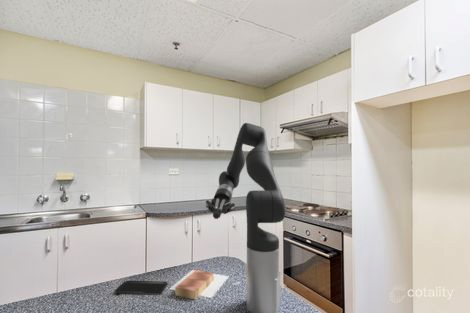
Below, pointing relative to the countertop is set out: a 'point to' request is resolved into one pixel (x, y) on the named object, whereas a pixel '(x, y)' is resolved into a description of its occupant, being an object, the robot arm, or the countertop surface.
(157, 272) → the countertop surface
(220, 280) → the white square pad
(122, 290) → the phone
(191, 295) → the brown flat rectangular block
